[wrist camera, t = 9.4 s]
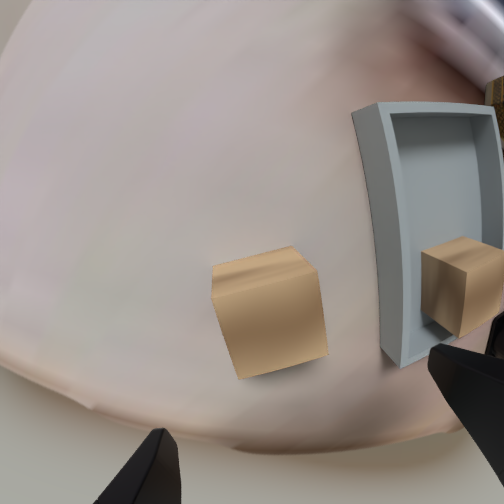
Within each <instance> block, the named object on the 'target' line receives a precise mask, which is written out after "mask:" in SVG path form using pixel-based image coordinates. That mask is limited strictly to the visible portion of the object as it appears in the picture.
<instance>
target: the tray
mask: <svg viewBox="0 0 504 504" xmlns="http://www.w3.org/2000/svg"><path fill="white" fill-rule="evenodd" d="M352 117H353V121H354V125H355V130H356V134H357V138H358V143H359V147H360V152H361V157H362V162H363V167H364V172H365V177H366V183H367V189H368V195H369V201H370V208H371V215H372V223H373V231H374V239H375V249H376V259H377V271H378V286H379V306H380V347H381V348H382V349H383V350H384V351H385V353H386V354H387V355H388V356H389V357H390V358H391V359H392V360H393V362H394V363H395V364H396V365H397V366H398V367H399V368H400V369H401V368H403V367H405V366H407V365H409V364H411V363H413V362H415V361H417V360H419V359H421V358H423V357H425V356H427V355H429V351H430V349H431V347H433V346H435V345H437V344H439V343H443V344H446V345H447V344H449V343H450V342H452V341H454V340H456V339H457V337H456V336H454V335H453V334H452V333H451V332H449V331H448V330H447V329H445V328H444V327H443V326H441V325H440V324H439V323H437V322H436V321H435V320H433V319H432V318H431V317H430V316H428V315H427V314H425V313H424V312H423V311H421V310H420V309H421V251H423V250H426V249H429V248H431V247H434V246H437V245H440V244H443V243H445V242H448V241H451V240H453V239H456V238H459V237H461V236H464V237H467V238H470V239H473V240H476V241H479V242H482V243H484V244H487V245H490V246H493V247H495V248H498V249H501V250H503V251H504V161H503V153H502V146H501V140H500V134H499V129H498V123H497V119H496V114H495V110H494V107H491V106H483V105H473V104H461V103H445V102H378V103H375V104H372V105H370V106H367V107H365V108H362V109H360V110H357V111H355V112H352Z"/></svg>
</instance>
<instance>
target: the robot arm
mask: <svg viewBox="0 0 504 504" xmlns="http://www.w3.org/2000/svg"><path fill="white" fill-rule="evenodd" d="M428 370H429V372H430V374H431V376H432V377H433V379H434V381H435V382H436V384H437V386H438V388H439V389H440V391H441V393H442V395H443V396H444V398H445V400H446V401H447V403H448V404H449V406H450V407H451V408H452V410H453V411H454V413H455V414H456V415H457V417H458V418H459V420H460V421H461V422H462V424H463V425H464V427H465V428H466V429H467V431H468V432H469V434H470V435H471V437H472V438H473V440H474V441H475V442H476V444H477V446H478V447H479V449H480V450H481V452H482V453H483V455H484V456H485V458H486V459H487V461H488V462H489V464H490V465H491V467H492V468H493V470H494V472H495V473H496V475H497V476H498V478H499V480H500V482H501V483H502V485H503V487H504V312H502V313H501V314H500V315H498V316H497V317H496V318H495V319H494V322H493V326H492V331H491V335H490V339H489V343H488V347H487V351H486V355H485V354H481V353H477V352H473V351H469V350H465V349H461V348H457V347H454V346H450V345H446V344H443V343H439V344H437V345H435V346H433V347H431V349H430V351H429V358H428ZM93 504H181V478H180V468H179V458H178V448H177V444H176V442H175V441H174V439H173V437H172V436H171V435H170V433H169V432H168V430H167V429H165V428H156V429H153V430H152V431H151V432H150V433H149V435H148V436H147V437H146V439H145V440H144V441H143V443H142V444H141V445H140V446H139V448H138V449H137V450H136V451H135V453H134V454H133V455H132V457H131V458H130V459H129V460H128V461H127V463H126V464H125V465H124V466H123V468H122V469H121V470H120V471H119V473H118V474H117V475H116V476H115V478H114V479H113V480H112V481H111V483H110V484H109V485H108V486H107V487H106V489H105V490H104V491H103V492H102V493H101V495H100V496H99V497H98V500H96V501H95V502H94V503H93Z"/></svg>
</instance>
